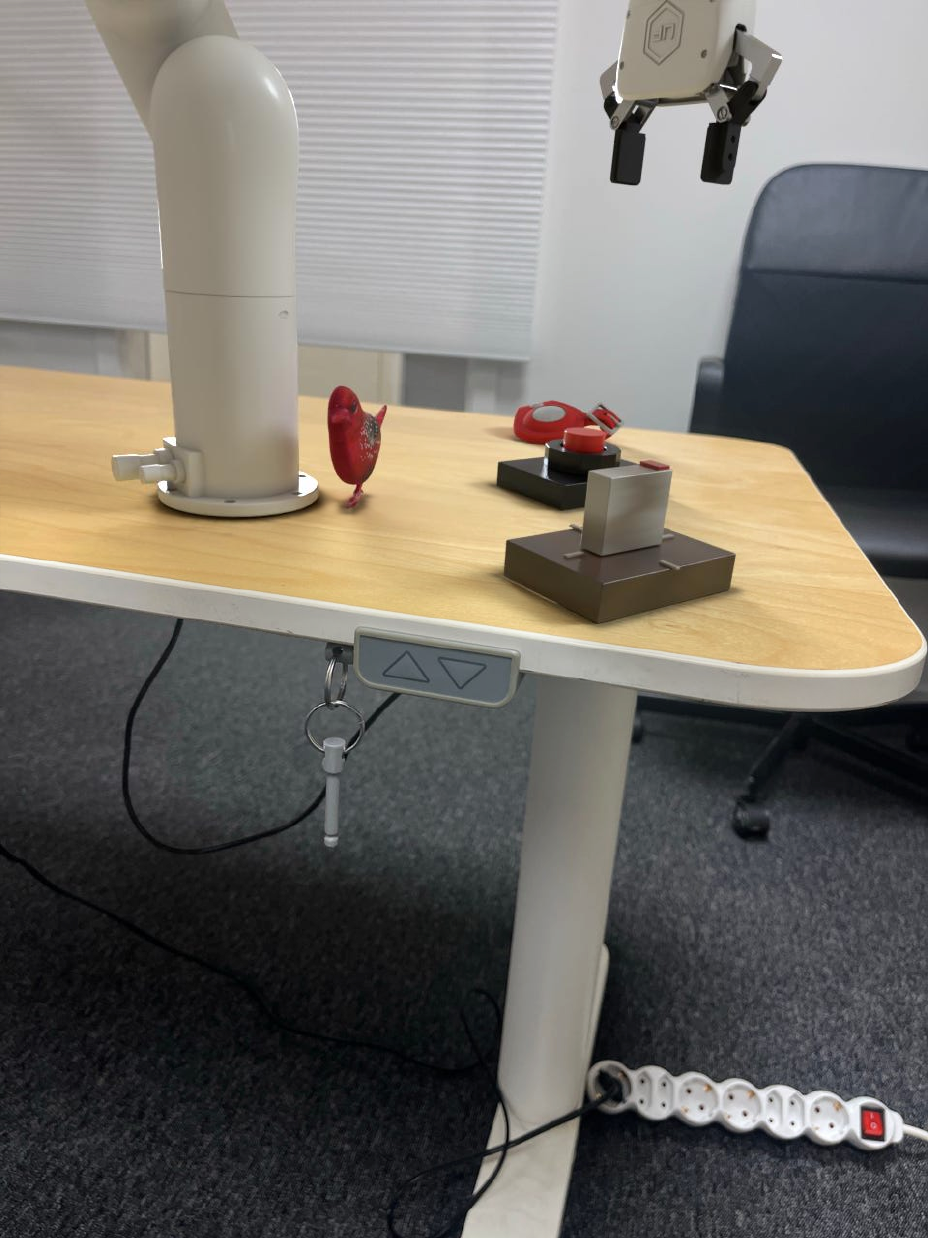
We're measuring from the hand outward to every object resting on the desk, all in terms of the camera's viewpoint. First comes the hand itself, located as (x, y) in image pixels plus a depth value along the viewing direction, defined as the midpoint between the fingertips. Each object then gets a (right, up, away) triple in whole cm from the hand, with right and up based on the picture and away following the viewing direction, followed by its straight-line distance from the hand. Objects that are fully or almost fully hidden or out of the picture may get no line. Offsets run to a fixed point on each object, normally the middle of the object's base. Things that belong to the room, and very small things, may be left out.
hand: (668, 183), depth 73 cm
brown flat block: (-7, -33, -14) cm, 37 cm away
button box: (-6, -24, +7) cm, 26 cm away
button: (-6, -21, +6) cm, 23 cm away
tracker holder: (-6, -16, +28) cm, 33 cm away
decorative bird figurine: (-25, -26, +1) cm, 36 cm away
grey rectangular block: (-7, -31, -15) cm, 35 cm away
